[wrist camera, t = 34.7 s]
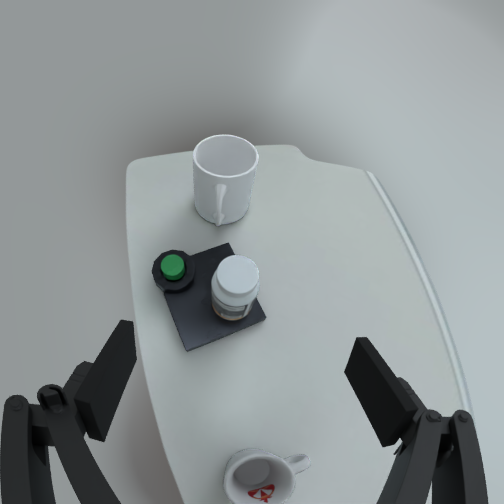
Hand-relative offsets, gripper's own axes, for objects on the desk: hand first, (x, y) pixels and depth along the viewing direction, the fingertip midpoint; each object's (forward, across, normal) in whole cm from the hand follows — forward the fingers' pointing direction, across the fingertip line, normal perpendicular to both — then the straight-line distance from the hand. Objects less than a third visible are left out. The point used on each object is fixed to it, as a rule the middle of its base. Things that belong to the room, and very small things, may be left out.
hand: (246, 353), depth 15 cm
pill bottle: (+23, 0, +8) cm, 25 cm away
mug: (+36, +2, -3) cm, 36 cm away
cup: (+8, -5, +26) cm, 27 cm away
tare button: (+25, +9, +5) cm, 26 cm away
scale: (+25, +3, +8) cm, 26 cm away
